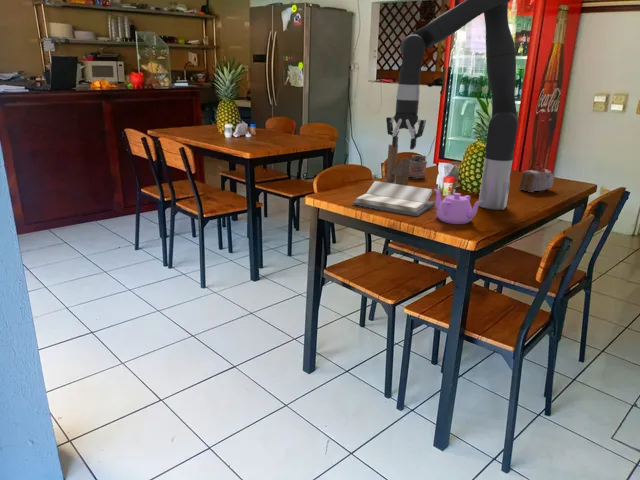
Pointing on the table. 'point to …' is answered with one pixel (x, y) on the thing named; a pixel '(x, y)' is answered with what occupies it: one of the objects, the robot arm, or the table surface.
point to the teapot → (455, 208)
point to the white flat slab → (390, 202)
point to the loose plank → (400, 192)
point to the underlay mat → (426, 207)
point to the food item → (536, 179)
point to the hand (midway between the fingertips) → (403, 148)
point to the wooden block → (397, 168)
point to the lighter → (417, 167)
